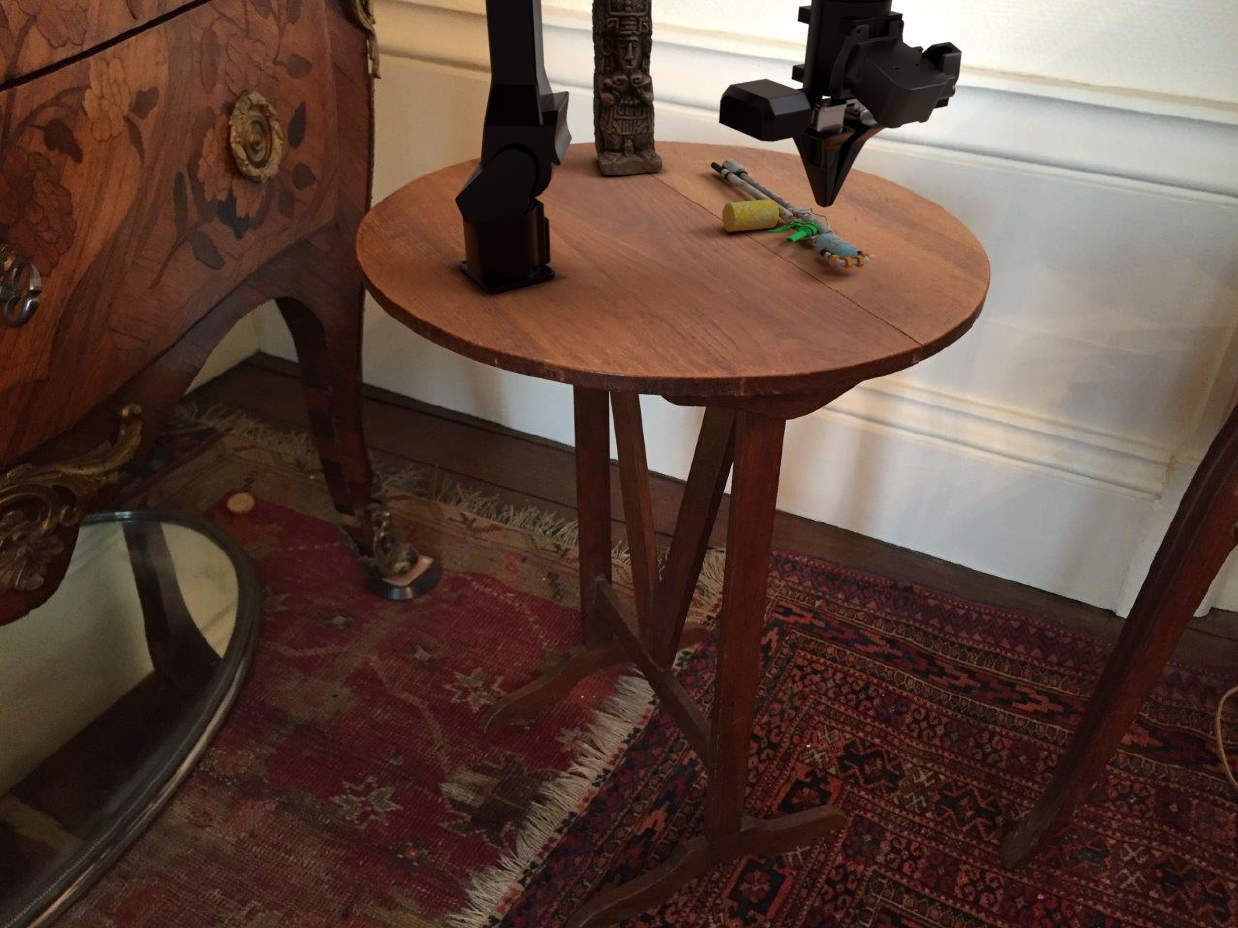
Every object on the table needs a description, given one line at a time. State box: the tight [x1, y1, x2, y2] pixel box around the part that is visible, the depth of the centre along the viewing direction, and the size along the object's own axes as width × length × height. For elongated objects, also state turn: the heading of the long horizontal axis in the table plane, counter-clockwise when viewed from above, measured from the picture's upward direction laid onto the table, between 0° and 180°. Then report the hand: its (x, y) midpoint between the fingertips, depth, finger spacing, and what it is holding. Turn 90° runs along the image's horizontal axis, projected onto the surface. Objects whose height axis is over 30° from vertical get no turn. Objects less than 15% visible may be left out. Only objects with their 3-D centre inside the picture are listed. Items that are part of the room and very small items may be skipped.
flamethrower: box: [710, 158, 870, 270], centre depth 94 cm, size 29×3×10 cm
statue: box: [591, 0, 663, 176], centre depth 102 cm, size 7×7×20 cm
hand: (824, 205), depth 78 cm, fingers closed
